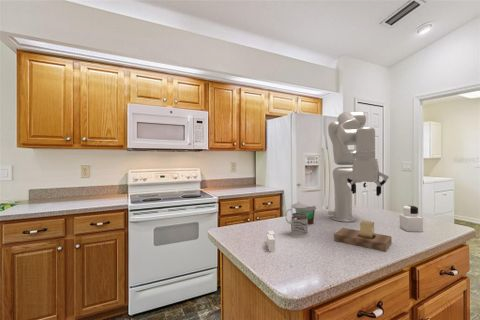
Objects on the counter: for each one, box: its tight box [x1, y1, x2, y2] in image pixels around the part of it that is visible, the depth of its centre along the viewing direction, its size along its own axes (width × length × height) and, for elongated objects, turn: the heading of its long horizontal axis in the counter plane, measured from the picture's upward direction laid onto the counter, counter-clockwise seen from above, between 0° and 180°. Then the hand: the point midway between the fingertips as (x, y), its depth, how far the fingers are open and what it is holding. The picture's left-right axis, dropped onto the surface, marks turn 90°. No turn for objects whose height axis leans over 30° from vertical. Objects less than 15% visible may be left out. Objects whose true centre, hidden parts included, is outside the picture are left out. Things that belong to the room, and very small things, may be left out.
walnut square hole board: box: [333, 227, 393, 252], centre depth 103 cm, size 20×12×3 cm, turn 48°
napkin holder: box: [266, 230, 276, 252], centre depth 100 cm, size 15×11×6 cm
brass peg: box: [359, 219, 375, 239], centre depth 102 cm, size 4×4×9 cm
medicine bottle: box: [399, 205, 424, 233], centre depth 119 cm, size 7×7×12 cm
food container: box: [293, 205, 317, 225], centre depth 134 cm, size 12×6×10 cm, turn 73°
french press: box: [284, 182, 311, 238], centre depth 115 cm, size 10×12×25 cm
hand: (365, 194), depth 104 cm, fingers open, 9 cm apart
